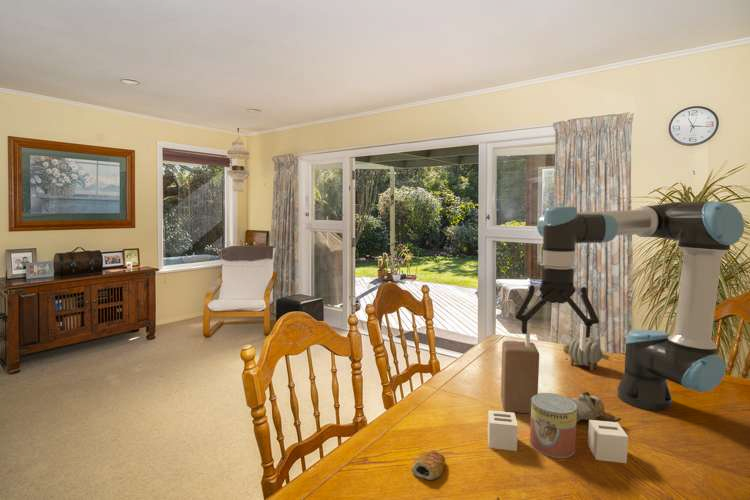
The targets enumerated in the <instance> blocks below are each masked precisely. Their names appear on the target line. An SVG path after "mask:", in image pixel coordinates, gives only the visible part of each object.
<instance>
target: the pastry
mask: <svg viewBox="0 0 750 500" xmlns="http://www.w3.org/2000/svg"><path fill="white" fill-rule="evenodd" d="M445 464H446V458H445V456H444V455H443V454H442V453H439V452H438V451H428V452H423V454H422V453H421V454H419V457H416V458H415V460H414V461H413V465H412V467H411V473H413V475H415V476H416V477H418V478H423V479H426V480H429V481H434V480H435V481H436V479H437V480H438V479H439V478H440V477H441V476H442V474H443V471H444V469H445Z"/></svg>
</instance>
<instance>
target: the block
mask: <svg viewBox="0 0 750 500" xmlns="http://www.w3.org/2000/svg"><path fill="white" fill-rule="evenodd" d="M501 347H502V348H501V350H502V351H501V375H500V376H501V377H500V379H501V380H500V381H501V382H500V399H501V404H502V408H503V411H504V412H512V413H517V414H518V413H520V414H528V415H529V414H530V415H531V398H532V396H534V395H536V394H539V373H540V372H539V371H540V370H539V369H540V353H539V351H538V348H537V346H536V345H535V343H534V342H531V341H530V347H526V345H525V341H513V340H504V341H503V342H502V345H501Z"/></svg>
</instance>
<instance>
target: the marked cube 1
mask: <svg viewBox="0 0 750 500" xmlns="http://www.w3.org/2000/svg"><path fill="white" fill-rule="evenodd" d="M515 413H516V412H507V411H500V410H489V409H488V411H487V442H488V449H497V450H504V451H512V452H514V451H515V452H517V451H518V433H519V432H518V428H519V425H518V422H517V418H516V414H515Z"/></svg>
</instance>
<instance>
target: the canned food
mask: <svg viewBox="0 0 750 500" xmlns="http://www.w3.org/2000/svg"><path fill="white" fill-rule="evenodd" d="M567 397H568V396H564V395H561V394H557V393H552V392H551V393H550V392H541V393H540V392H539V393H538V394H536V395H534V396H532V398H531V414H530V427H529V429H530V432H529V444H530V446H531V447H532V448H533V450H535V451H536V452H538V453H539V454H541V455H544V456H546V457H550V458H554V459H555V458H557V459H566V458H570V457H572V456H573V455H575V453H576V438H577V437H576V436H577V422H576V420H577V408H578V406H577V404H576V403H575V402H574V401H573V400H571V399H569V398H570V397H569V398H567Z"/></svg>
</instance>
